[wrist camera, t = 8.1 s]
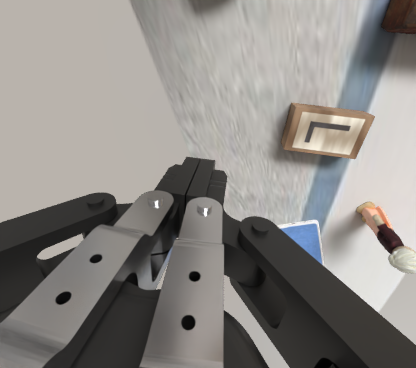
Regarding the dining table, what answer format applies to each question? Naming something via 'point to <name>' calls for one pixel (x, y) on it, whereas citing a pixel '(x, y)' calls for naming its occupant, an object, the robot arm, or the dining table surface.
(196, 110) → the dining table surface
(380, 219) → the grandmother figurine
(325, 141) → the marked cardboard box
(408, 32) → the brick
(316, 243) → the tablet computer
